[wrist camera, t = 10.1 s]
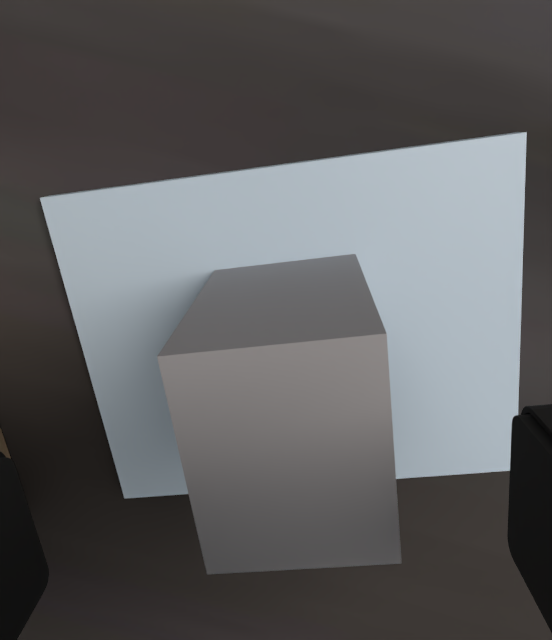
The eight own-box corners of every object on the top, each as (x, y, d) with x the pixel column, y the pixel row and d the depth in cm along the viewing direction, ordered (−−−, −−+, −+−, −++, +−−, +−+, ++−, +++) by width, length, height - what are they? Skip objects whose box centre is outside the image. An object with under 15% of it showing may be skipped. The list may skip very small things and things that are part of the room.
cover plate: (505, 451, 17) (625, 647, 11) (133, 479, 19) (39, 669, 12) (512, 132, 14) (693, 133, 7) (56, 194, 15) (-135, 241, 9)
